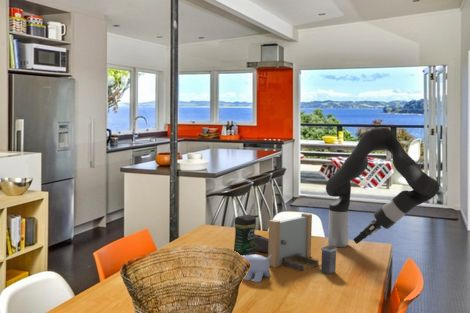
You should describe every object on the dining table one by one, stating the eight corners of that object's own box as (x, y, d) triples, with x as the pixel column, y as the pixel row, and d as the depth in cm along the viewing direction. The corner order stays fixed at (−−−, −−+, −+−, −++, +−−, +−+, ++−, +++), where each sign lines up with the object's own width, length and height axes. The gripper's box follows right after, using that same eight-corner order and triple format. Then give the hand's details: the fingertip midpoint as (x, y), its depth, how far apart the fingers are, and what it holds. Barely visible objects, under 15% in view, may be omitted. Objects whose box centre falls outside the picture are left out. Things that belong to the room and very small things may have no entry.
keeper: (299, 259, 201) (300, 252, 201) (318, 265, 194) (318, 258, 194) (282, 265, 194) (282, 258, 193) (301, 271, 186) (301, 263, 186)
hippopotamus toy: (243, 269, 188) (244, 246, 187) (276, 276, 180) (277, 252, 179) (229, 276, 179) (229, 252, 178) (263, 284, 171) (264, 259, 170)
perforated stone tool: (279, 254, 209) (279, 239, 209) (271, 256, 206) (271, 241, 205) (255, 247, 220) (256, 232, 220) (247, 248, 217) (248, 234, 216)
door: (303, 254, 209) (304, 213, 208) (311, 256, 206) (313, 214, 204) (268, 264, 193) (269, 220, 192) (276, 267, 190) (277, 222, 188)
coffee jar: (244, 260, 199) (244, 218, 197) (230, 256, 204) (231, 215, 202) (258, 256, 206) (259, 215, 204) (245, 252, 211) (245, 212, 209)
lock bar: (327, 269, 188) (327, 245, 188) (336, 272, 185) (336, 248, 184) (320, 272, 185) (321, 247, 185) (329, 274, 182) (330, 250, 181)
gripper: (387, 203, 178) (357, 228, 185) (378, 208, 166) (346, 235, 173) (401, 218, 176) (370, 243, 183) (392, 225, 164) (359, 251, 171)
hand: (358, 239), depth 178 cm, fingers open, 8 cm apart
